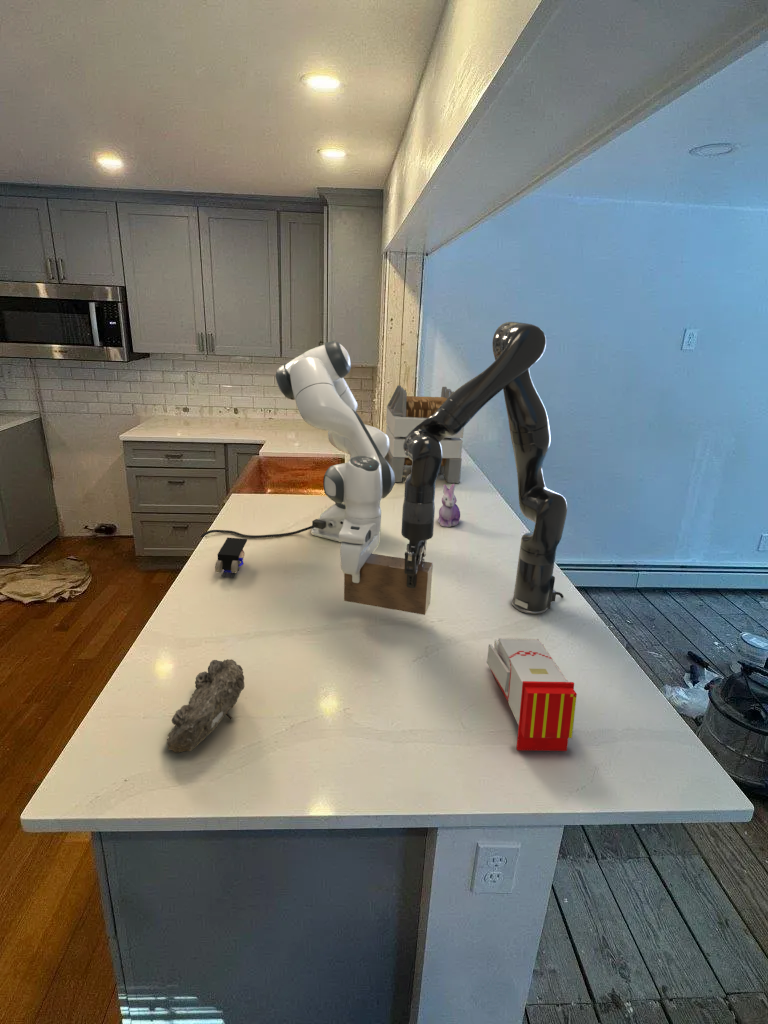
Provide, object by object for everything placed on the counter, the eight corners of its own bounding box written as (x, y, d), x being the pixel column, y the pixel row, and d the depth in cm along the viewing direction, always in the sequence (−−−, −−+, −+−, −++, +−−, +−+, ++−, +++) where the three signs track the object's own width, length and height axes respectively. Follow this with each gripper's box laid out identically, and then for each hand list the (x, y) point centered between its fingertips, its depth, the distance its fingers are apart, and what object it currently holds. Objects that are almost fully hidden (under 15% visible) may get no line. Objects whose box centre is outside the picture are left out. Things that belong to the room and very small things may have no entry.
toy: (536, 621, 128) (586, 689, 98) (531, 676, 131) (578, 758, 101) (482, 620, 127) (517, 688, 98) (478, 675, 130) (511, 757, 101)
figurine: (445, 529, 206) (449, 489, 200) (430, 519, 214) (433, 481, 209) (467, 525, 210) (470, 487, 205) (451, 516, 218) (454, 479, 213)
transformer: (382, 463, 289) (386, 382, 275) (445, 464, 293) (451, 384, 279) (390, 482, 257) (394, 392, 243) (460, 483, 261) (468, 394, 247)
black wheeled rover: (238, 584, 162) (249, 557, 175) (236, 562, 158) (247, 536, 172) (215, 584, 161) (227, 556, 175) (212, 561, 158) (225, 535, 171)
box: (343, 600, 143) (344, 559, 139) (351, 590, 148) (352, 550, 144) (425, 615, 137) (427, 572, 134) (429, 603, 143) (432, 562, 139)
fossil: (192, 660, 117) (244, 628, 112) (224, 691, 120) (276, 661, 115) (142, 746, 98) (202, 712, 93) (182, 779, 101) (242, 748, 96)
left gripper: (363, 509, 148) (361, 557, 152) (335, 537, 129) (335, 591, 134) (386, 512, 146) (384, 561, 151) (362, 541, 128) (360, 595, 132)
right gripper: (427, 529, 125) (422, 597, 131) (439, 509, 139) (435, 571, 144) (394, 525, 127) (391, 592, 133) (409, 505, 140) (406, 567, 146)
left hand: (361, 575), depth 142 cm, fingers closed on box, 6 cm apart
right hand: (414, 581), depth 139 cm, fingers closed on box, 6 cm apart
